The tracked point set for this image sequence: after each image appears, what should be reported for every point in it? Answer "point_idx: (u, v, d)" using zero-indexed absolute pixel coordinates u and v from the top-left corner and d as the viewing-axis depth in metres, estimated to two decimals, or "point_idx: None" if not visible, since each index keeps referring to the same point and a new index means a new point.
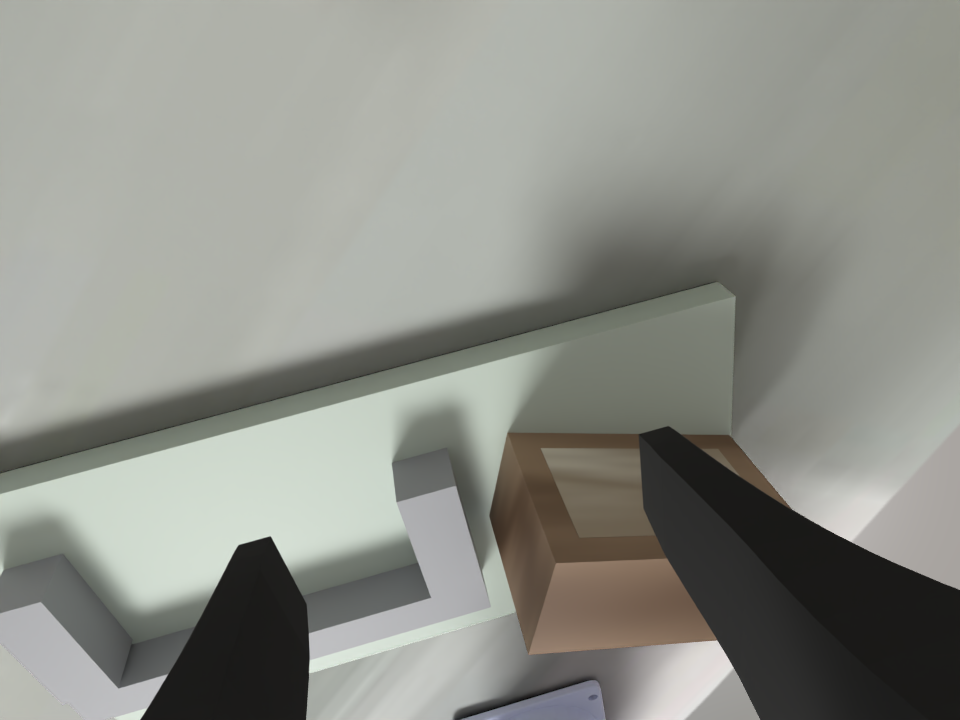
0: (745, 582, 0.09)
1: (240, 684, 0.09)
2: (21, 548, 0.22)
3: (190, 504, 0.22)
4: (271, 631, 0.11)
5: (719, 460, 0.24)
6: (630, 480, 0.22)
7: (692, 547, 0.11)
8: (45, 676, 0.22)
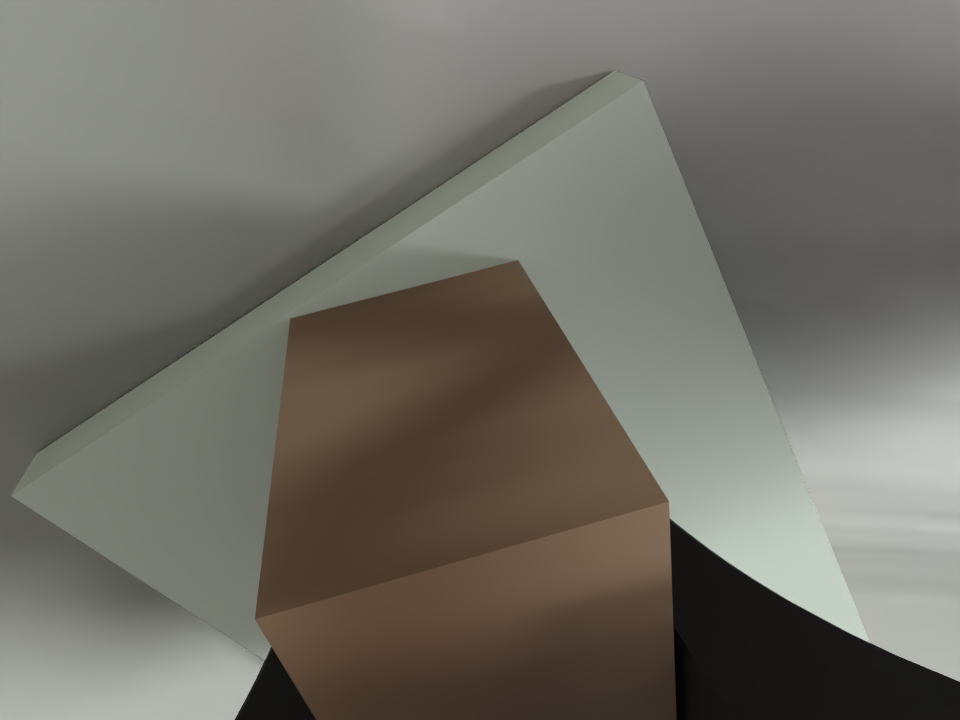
0: None
1: None
2: None
3: None
4: None
5: None
6: None
7: None
8: None
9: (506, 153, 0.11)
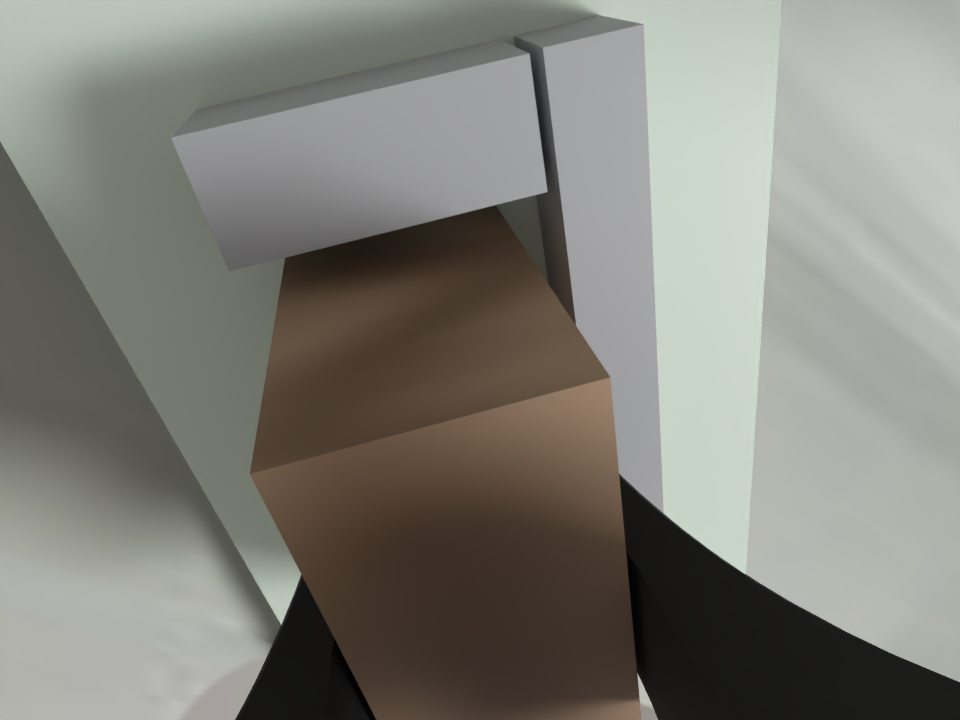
0: (645, 612, 0.09)
1: None
2: None
3: None
4: None
5: None
6: None
7: None
8: None
9: None
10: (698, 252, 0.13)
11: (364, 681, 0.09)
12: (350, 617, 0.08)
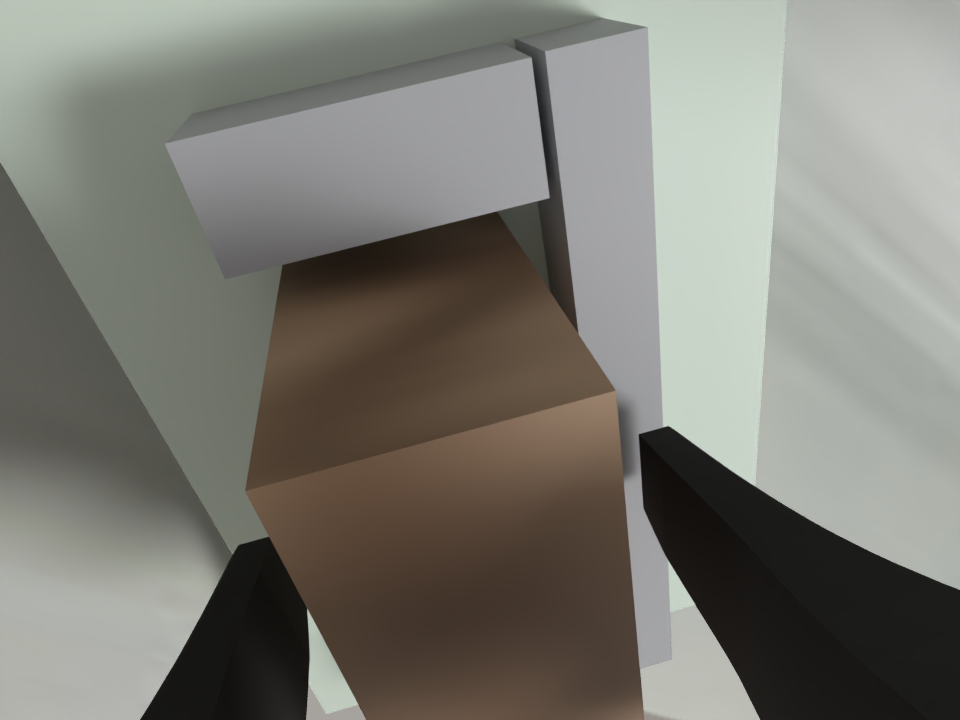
0: (745, 582, 0.09)
1: (240, 684, 0.09)
2: None
3: None
4: (271, 631, 0.11)
5: None
6: None
7: (692, 547, 0.11)
8: None
9: None
10: (702, 257, 0.13)
11: (363, 699, 0.09)
12: (349, 635, 0.08)
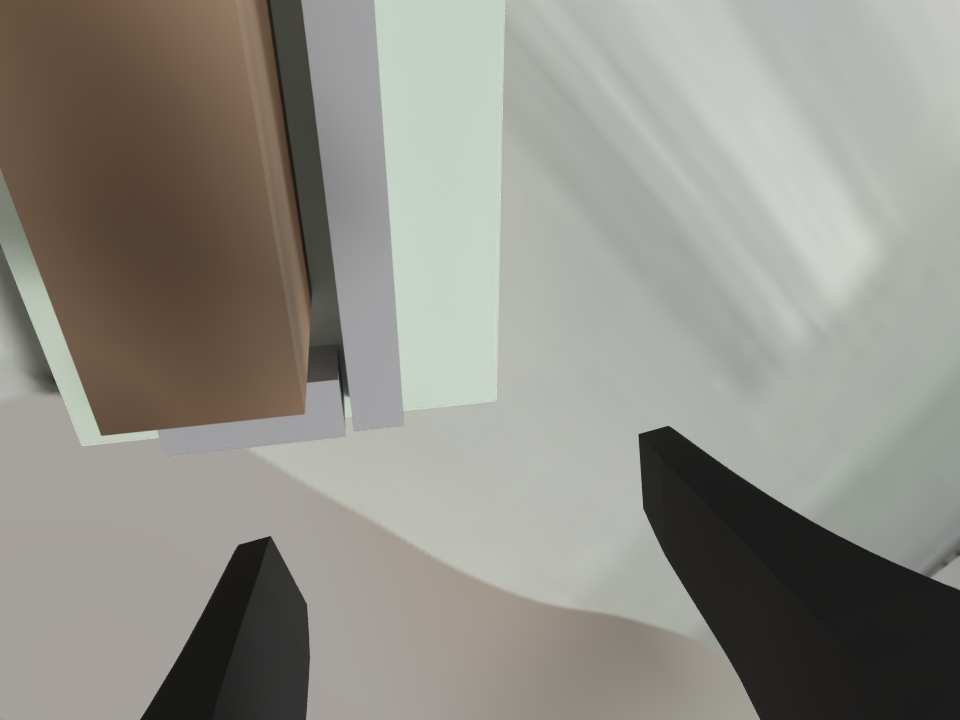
0: (745, 582, 0.09)
1: (240, 684, 0.09)
2: None
3: None
4: (271, 631, 0.11)
5: None
6: None
7: (692, 547, 0.11)
8: (286, 433, 0.19)
9: None
10: (443, 21, 0.16)
11: (16, 192, 0.11)
12: None
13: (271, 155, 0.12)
